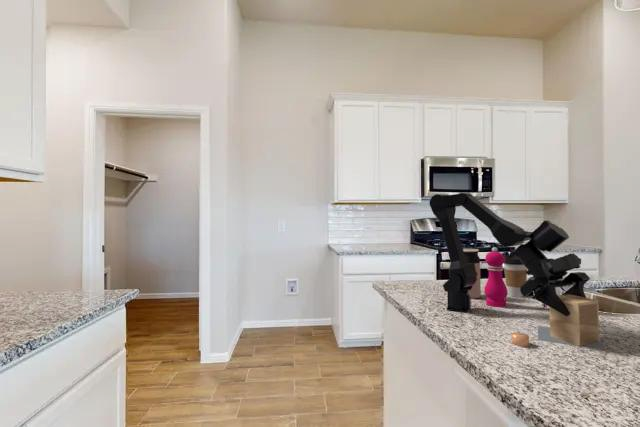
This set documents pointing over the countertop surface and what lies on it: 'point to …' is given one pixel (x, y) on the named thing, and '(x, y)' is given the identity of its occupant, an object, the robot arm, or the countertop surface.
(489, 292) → the pepper mill
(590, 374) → the countertop surface
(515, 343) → the glossy peach egg
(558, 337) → the cover box
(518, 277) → the coffee cup
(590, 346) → the slate mat
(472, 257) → the travel mug
